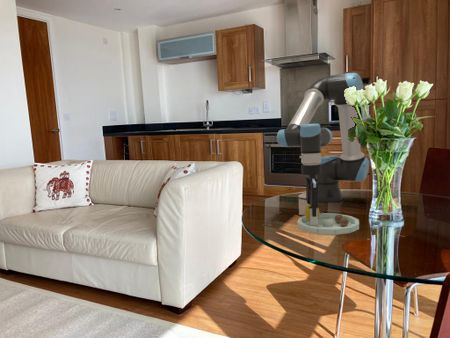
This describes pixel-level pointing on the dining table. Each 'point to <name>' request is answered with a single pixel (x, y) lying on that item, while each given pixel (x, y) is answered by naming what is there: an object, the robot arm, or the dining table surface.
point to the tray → (328, 225)
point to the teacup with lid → (302, 203)
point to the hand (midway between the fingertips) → (312, 222)
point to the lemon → (307, 212)
